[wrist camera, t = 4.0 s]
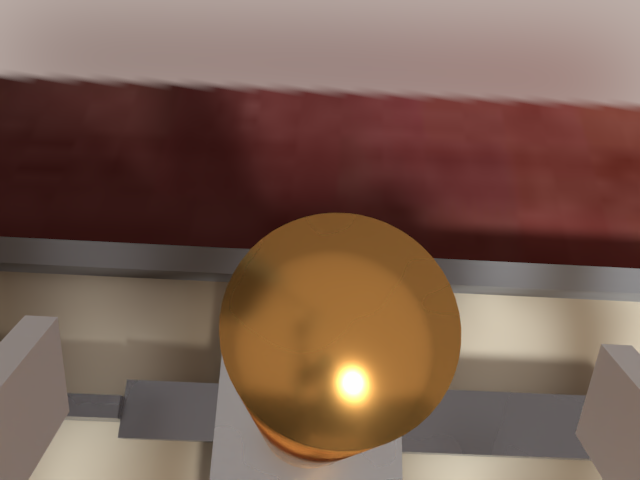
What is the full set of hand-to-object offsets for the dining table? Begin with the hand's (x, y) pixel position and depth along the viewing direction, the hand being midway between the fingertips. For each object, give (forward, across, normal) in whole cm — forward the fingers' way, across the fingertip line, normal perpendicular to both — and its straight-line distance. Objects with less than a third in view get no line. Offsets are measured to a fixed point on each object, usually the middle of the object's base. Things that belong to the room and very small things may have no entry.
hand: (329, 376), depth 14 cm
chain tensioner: (+4, -5, -5) cm, 8 cm away
